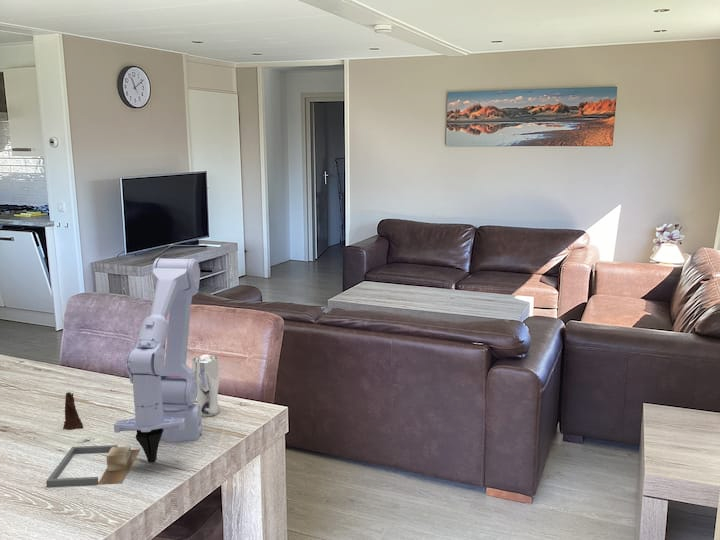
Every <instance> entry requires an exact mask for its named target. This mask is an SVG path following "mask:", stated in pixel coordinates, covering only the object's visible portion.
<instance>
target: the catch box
mask: <svg viewBox="0 0 720 540" xmlns="http://www.w3.org/2000/svg"><path fill="white" fill-rule="evenodd" d="M112 447H119V446H118V444H109V445H108V444H107V445H88V446H86V445H85V446H72V447H71V448H70V449H69V451H68V452H67V453H66V454H65V455H64V457H63V458H62V459H61V461H59V464H58V465H57V466H56V467H55V469H54V470H53V472H51V474H50V475H49V477H48V478H47V480H46V482H45V483H46V487H47V488H56V487H74V486H75V487H77V486H78V487H79V486H98V485H97V484H98V482H99V477H98V476H89V477H88V476H87V477H85V476H84V477H66V478H65V477H63V478H60V477H59V476H60V475H61V474H62V472H63V471H64V470H65V468H67V466H68V465H69V463H70V461H71V460H72V459H73V457H74V456H75V455H79V454H80V455H81V454H82V455H83V454H100V453H101V454H103V453H107V454H108V453H109V451H110V449H111V448H112Z"/></svg>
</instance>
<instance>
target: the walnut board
mask: <svg viewBox="0 0 720 540" xmlns="http://www.w3.org/2000/svg"><path fill="white" fill-rule="evenodd" d="M140 451H141V449H140V448H139V449H136V448H135V449H131V458H132V462H131V463H130V465H129V467H128V469H127V470H118V471H108V468H106V469H105V471H104V472H103V474H102V476H101V477H100V479H99V480H98V484H97V485H96V486H98V485H99V486H100V485H101V486H103V485H117V484H118V485H119V484H120V485H122V484H123V483H124V481H125V479H126V478H127V476H128V473H129V472H130V470H131V468H132V466H133V464H134V462H135V461H136V458H137V457H138V455H139V453H140Z"/></svg>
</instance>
